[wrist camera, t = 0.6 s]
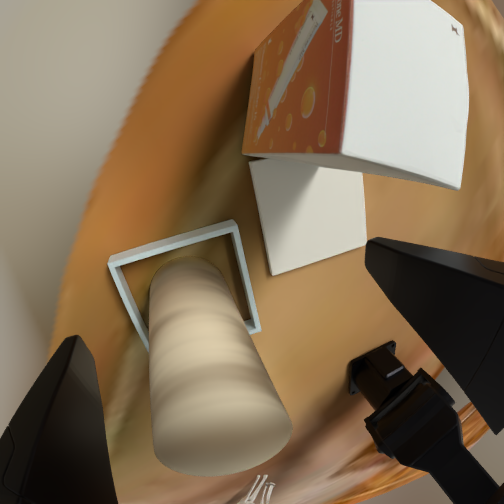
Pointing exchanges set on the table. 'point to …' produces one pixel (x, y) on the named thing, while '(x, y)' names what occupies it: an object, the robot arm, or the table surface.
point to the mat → (307, 212)
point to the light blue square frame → (174, 243)
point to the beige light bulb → (207, 377)
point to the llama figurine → (247, 501)
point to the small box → (363, 90)
